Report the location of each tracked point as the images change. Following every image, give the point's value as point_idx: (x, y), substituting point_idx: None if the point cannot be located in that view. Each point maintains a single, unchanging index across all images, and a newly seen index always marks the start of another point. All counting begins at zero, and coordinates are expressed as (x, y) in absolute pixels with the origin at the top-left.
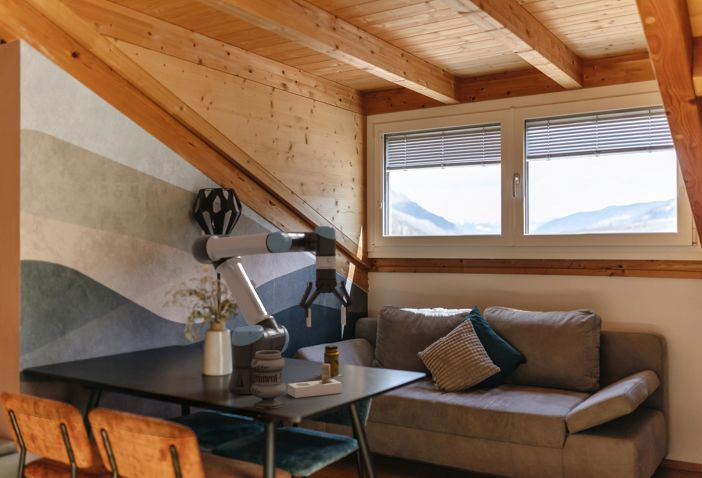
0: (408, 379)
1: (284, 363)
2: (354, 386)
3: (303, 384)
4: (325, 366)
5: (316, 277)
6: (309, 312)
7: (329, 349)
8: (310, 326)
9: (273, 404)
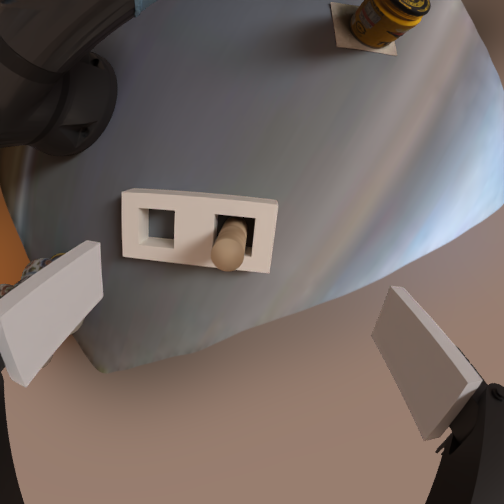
0: (482, 220)
1: (48, 362)
2: (345, 207)
3: (165, 208)
4: (218, 265)
5: None
6: (33, 359)
7: (392, 4)
8: (99, 297)
9: None
